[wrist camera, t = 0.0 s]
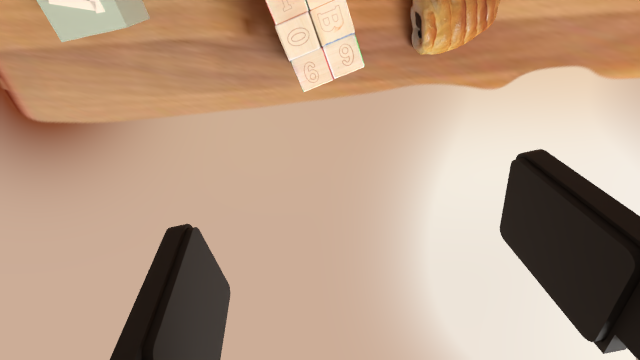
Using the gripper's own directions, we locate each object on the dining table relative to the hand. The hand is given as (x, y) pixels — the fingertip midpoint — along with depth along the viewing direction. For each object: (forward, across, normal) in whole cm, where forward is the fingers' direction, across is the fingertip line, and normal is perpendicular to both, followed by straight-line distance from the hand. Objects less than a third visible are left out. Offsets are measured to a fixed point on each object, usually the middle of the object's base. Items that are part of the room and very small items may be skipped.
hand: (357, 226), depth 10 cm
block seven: (+31, +18, -8) cm, 37 cm away
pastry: (+32, -16, +1) cm, 36 cm away
